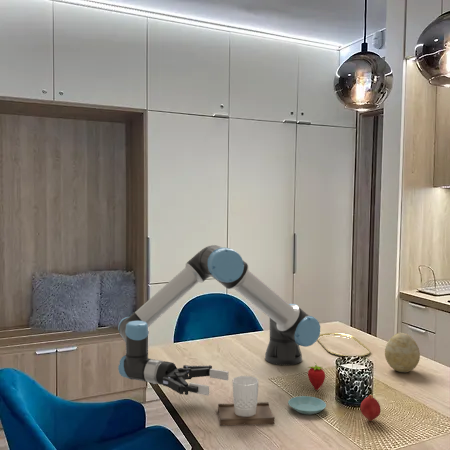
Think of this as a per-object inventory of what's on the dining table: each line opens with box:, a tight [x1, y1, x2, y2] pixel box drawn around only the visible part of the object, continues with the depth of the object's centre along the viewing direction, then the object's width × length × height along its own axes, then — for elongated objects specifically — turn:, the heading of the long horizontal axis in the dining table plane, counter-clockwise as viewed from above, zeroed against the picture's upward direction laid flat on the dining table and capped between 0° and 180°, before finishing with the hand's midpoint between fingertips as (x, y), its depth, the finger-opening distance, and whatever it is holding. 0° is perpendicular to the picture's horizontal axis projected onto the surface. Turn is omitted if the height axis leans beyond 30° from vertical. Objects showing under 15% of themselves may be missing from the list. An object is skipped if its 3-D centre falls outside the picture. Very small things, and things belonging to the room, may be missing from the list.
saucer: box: [287, 395, 327, 415], centre depth 152 cm, size 12×12×2 cm
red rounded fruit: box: [359, 394, 381, 422], centre depth 144 cm, size 6×6×8 cm
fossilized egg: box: [384, 332, 421, 373], centre depth 186 cm, size 13×13×15 cm
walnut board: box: [217, 401, 276, 426], centre depth 147 cm, size 16×11×2 cm
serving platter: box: [317, 332, 371, 357], centre depth 219 cm, size 19×35×2 cm, turn 4°
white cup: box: [232, 375, 259, 417], centre depth 147 cm, size 8×8×10 cm
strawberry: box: [307, 363, 326, 391], centre depth 167 cm, size 6×8×10 cm
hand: (218, 383), depth 150 cm, fingers open, 13 cm apart
